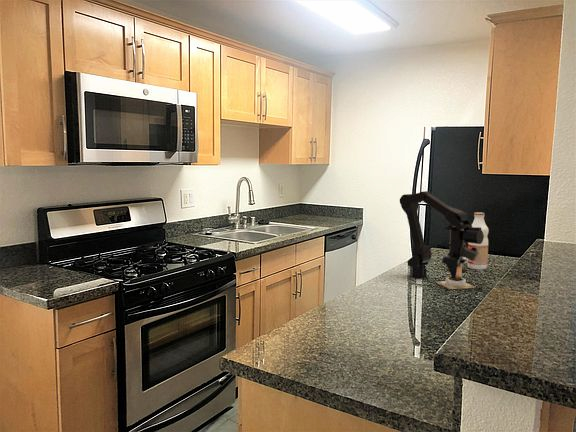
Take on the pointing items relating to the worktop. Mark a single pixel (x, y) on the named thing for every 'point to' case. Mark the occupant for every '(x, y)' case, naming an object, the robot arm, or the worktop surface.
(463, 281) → the collar
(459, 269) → the copper brown cylinder
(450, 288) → the board
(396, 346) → the worktop surface
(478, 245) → the fruit juice
